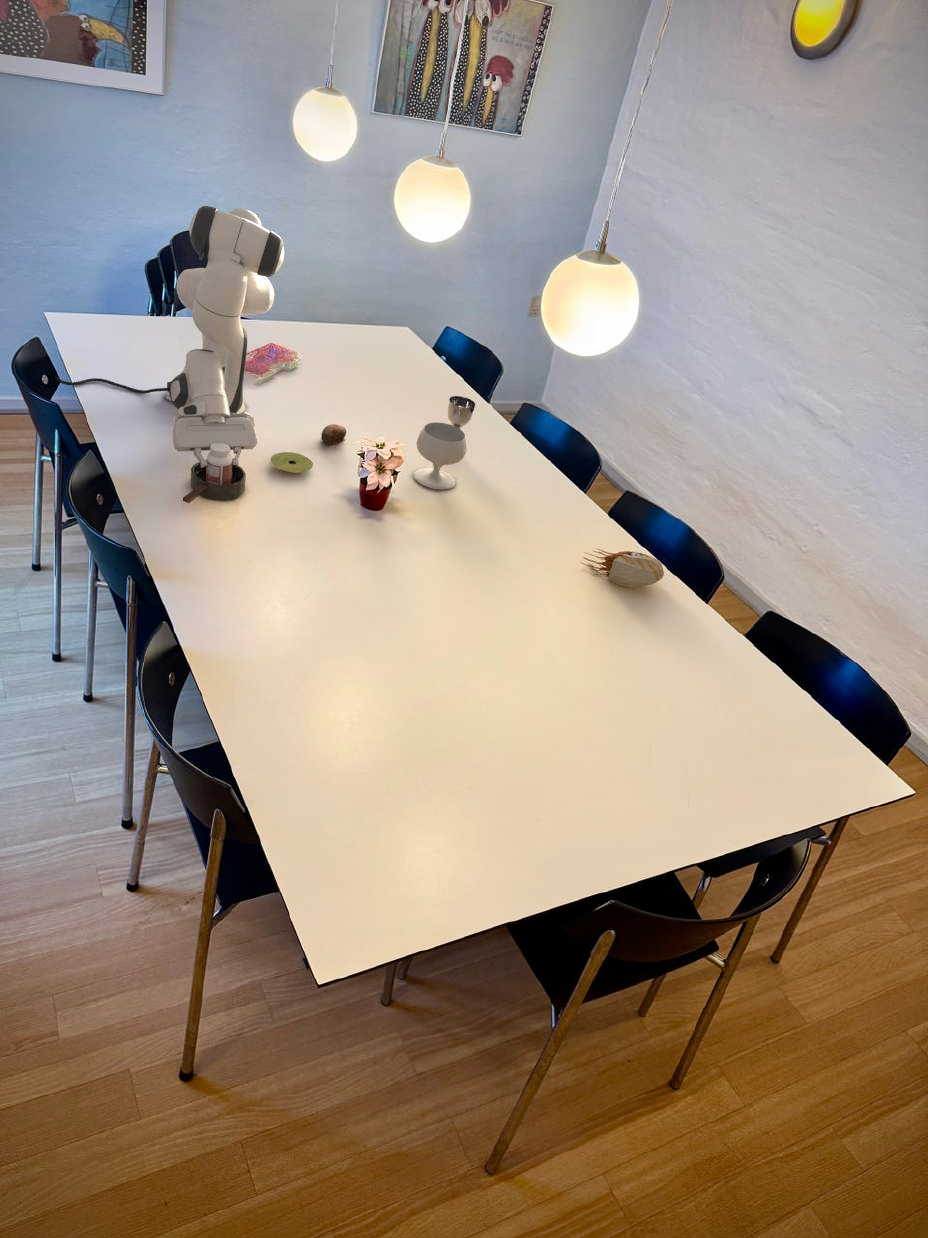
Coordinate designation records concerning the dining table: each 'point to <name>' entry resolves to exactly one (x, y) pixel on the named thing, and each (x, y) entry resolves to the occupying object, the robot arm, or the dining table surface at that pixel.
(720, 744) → the dining table surface
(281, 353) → the pink mottled wavy slab
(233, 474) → the pan
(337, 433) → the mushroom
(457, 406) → the wine glass
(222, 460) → the pill bottle
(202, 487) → the pan handle
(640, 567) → the nautilus
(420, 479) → the chalice
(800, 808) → the dining table surface
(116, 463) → the dining table surface
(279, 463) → the green disc
